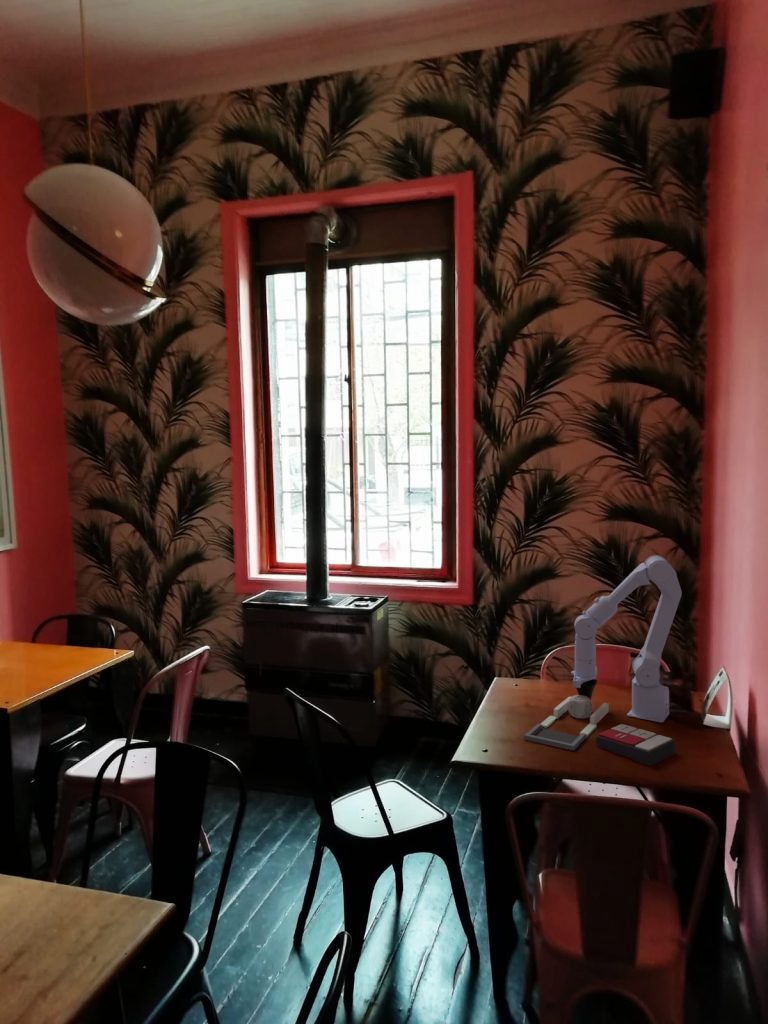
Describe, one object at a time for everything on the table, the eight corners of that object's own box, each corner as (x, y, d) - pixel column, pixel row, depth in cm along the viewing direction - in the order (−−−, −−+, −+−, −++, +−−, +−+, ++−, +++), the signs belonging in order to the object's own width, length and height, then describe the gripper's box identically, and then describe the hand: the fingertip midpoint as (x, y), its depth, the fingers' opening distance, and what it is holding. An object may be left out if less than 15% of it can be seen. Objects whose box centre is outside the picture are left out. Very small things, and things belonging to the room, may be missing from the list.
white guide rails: (608, 711, 200) (608, 703, 199) (594, 725, 190) (594, 717, 190) (569, 704, 206) (569, 696, 206) (553, 717, 196) (553, 709, 196)
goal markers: (596, 727, 189) (596, 724, 189) (587, 736, 183) (587, 734, 183) (550, 717, 196) (550, 715, 196) (539, 726, 190) (539, 724, 190)
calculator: (621, 721, 184) (675, 736, 172) (621, 738, 184) (675, 754, 172) (594, 733, 177) (649, 749, 165) (595, 749, 177) (649, 767, 165)
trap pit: (586, 738, 182) (586, 733, 182) (573, 750, 175) (573, 746, 175) (538, 727, 189) (538, 723, 189) (524, 739, 182) (524, 735, 182)
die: (567, 715, 198) (567, 698, 197) (577, 710, 201) (577, 693, 201) (583, 720, 194) (583, 702, 194) (593, 715, 197) (593, 697, 197)
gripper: (580, 649, 208) (580, 695, 209) (562, 662, 196) (562, 710, 197) (604, 653, 204) (604, 699, 205) (587, 666, 192) (587, 715, 193)
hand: (585, 705), depth 201 cm, fingers closed
